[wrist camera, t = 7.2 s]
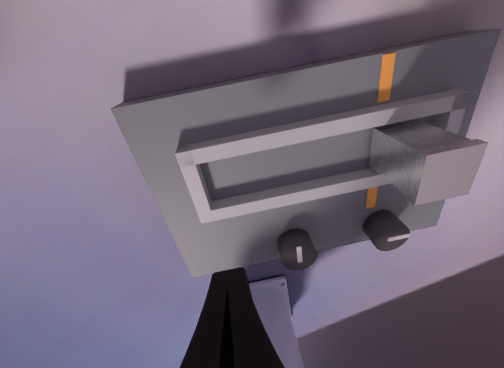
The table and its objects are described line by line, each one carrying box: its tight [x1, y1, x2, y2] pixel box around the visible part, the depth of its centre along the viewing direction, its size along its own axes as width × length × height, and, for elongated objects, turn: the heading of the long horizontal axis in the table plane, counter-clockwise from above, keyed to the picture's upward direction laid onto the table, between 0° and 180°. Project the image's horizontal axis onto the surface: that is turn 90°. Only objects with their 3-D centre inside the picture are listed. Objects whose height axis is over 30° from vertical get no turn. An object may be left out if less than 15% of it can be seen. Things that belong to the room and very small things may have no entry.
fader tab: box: [369, 119, 488, 206], centre depth 15 cm, size 3×3×5 cm
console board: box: [111, 29, 501, 278], centre depth 18 cm, size 16×24×4 cm, turn 100°
